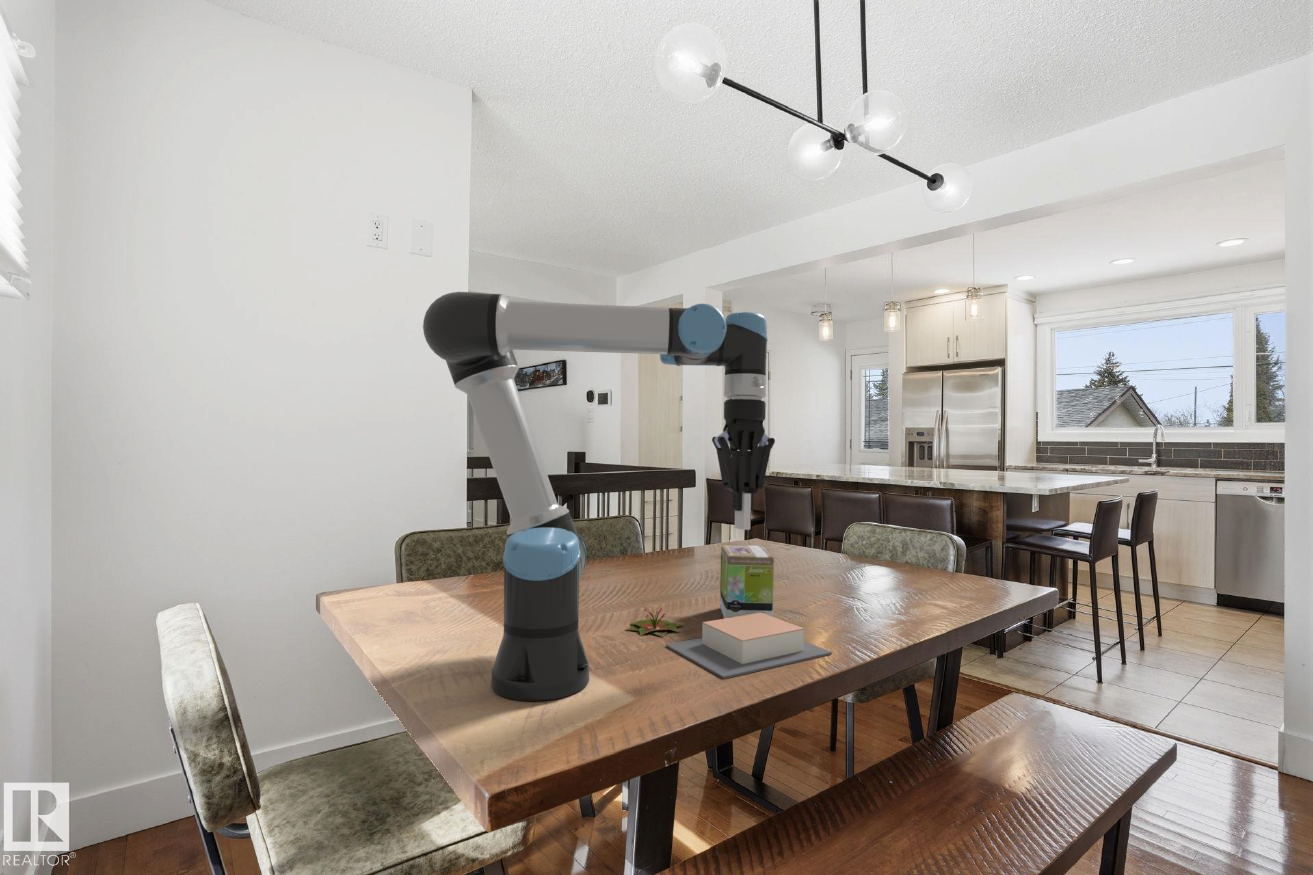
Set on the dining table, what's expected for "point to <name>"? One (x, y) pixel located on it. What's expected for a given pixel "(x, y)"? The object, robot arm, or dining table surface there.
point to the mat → (732, 668)
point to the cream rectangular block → (752, 637)
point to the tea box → (746, 580)
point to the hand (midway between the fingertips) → (742, 528)
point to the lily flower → (654, 624)
